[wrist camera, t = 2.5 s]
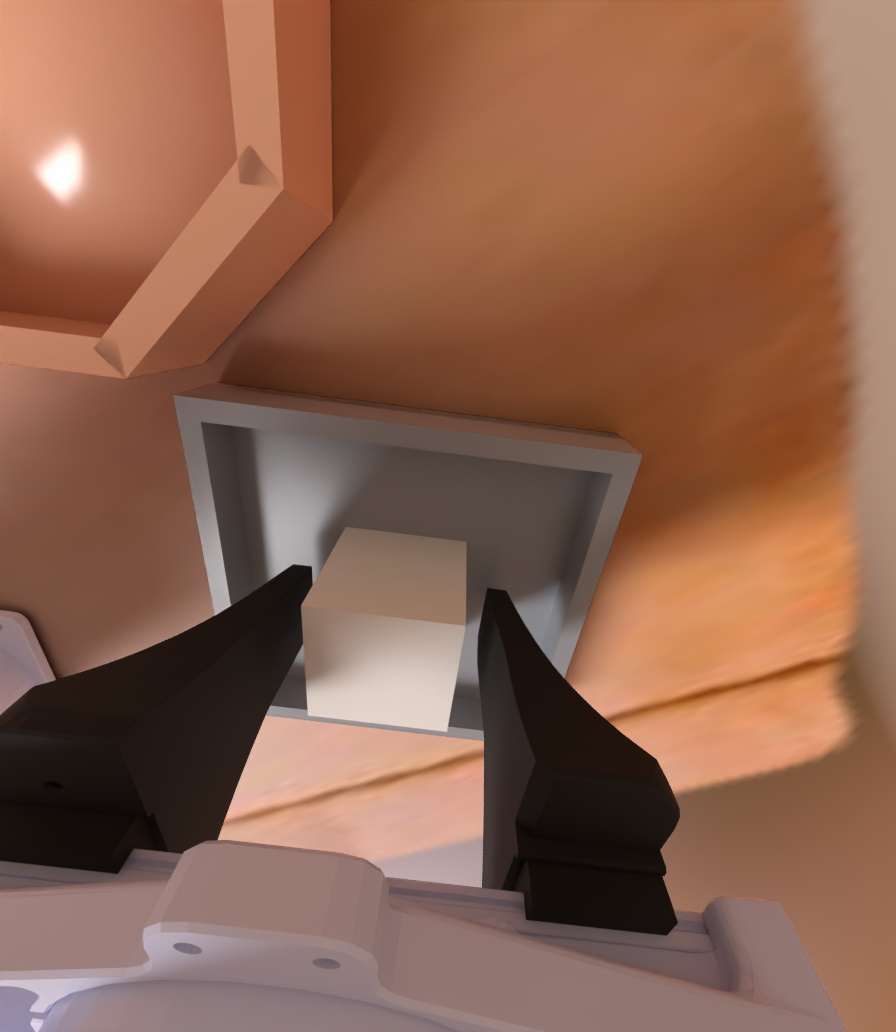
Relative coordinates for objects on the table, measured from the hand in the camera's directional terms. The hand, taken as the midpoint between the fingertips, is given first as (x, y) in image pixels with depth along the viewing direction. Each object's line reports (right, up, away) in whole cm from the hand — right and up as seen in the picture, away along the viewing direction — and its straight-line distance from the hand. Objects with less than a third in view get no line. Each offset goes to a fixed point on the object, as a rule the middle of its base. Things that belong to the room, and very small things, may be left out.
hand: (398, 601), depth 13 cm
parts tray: (0, +1, +1) cm, 2 cm away
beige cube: (0, 0, +1) cm, 1 cm away
